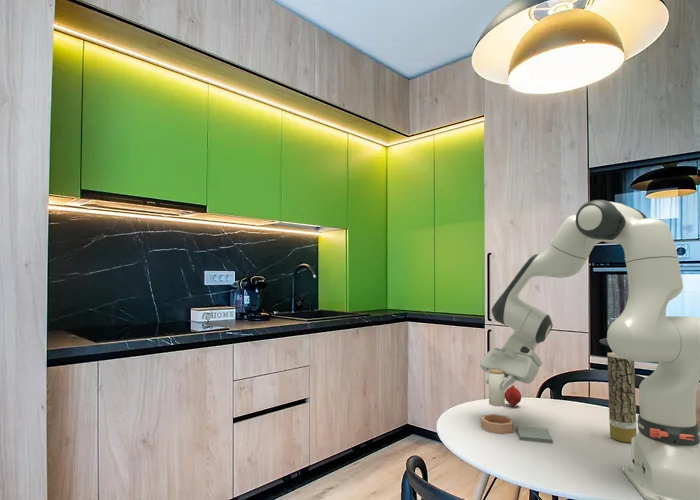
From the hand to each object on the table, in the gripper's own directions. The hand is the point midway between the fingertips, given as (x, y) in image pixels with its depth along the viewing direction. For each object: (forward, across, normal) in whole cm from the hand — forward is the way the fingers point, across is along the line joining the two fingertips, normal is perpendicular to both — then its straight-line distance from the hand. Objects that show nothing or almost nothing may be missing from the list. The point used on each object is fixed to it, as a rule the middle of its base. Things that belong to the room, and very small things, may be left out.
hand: (495, 385), depth 140 cm
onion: (-6, -14, +26) cm, 30 cm away
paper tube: (-10, +24, +29) cm, 39 cm away
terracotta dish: (+9, 0, +10) cm, 13 cm away
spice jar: (+4, 0, +5) cm, 6 cm away
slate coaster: (+6, +10, +13) cm, 18 cm away
